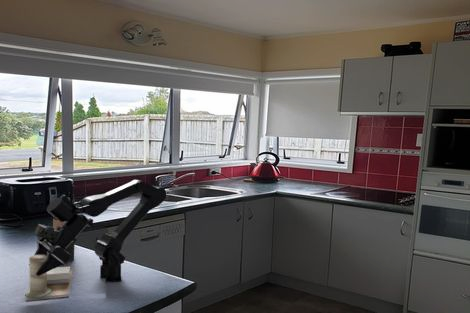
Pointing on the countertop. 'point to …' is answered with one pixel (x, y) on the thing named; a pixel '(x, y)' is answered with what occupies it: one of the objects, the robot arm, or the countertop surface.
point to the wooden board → (52, 291)
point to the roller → (37, 282)
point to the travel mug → (71, 247)
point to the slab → (58, 275)
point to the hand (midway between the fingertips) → (33, 270)
